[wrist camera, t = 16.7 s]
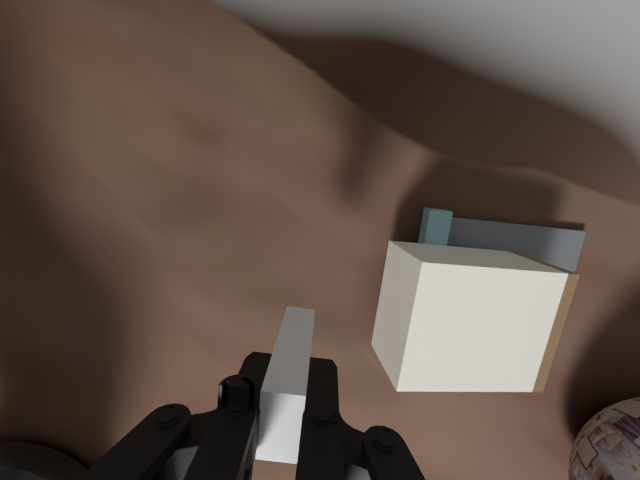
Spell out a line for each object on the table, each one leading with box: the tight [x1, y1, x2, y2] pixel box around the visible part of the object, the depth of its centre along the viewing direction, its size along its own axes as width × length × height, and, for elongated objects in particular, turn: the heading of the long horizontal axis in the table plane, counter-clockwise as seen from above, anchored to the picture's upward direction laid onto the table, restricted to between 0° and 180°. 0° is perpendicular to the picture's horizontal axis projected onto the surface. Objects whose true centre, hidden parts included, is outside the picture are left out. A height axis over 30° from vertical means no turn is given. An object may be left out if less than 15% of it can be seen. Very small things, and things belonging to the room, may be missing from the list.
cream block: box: [371, 241, 580, 392], centre depth 21 cm, size 5×8×10 cm
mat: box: [447, 217, 587, 273], centre depth 24 cm, size 10×12×1 cm
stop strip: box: [418, 207, 453, 246], centre depth 24 cm, size 2×13×2 cm, turn 175°
